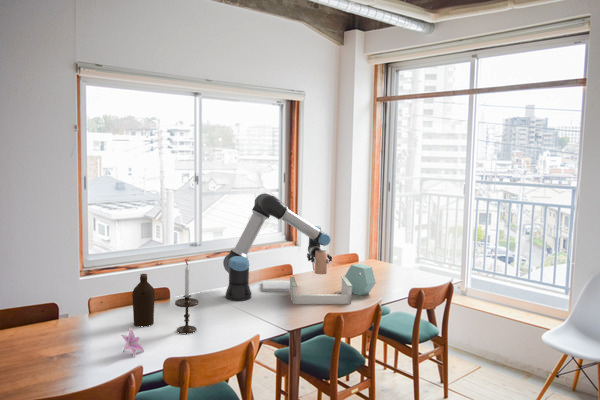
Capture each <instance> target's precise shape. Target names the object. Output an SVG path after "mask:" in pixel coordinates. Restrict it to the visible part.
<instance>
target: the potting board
mask: <svg viewBox="0 0 600 400" xmlns="http://www.w3.org/2000/svg"><path fill="white" fill-rule="evenodd" d="M261 286H262V292H264V293H267V292H268V293H269V292H270V293H271V292H275V293H277V292H278V293H279V292H280V293H283V292H284V293H288V292H289V293H290V280H261Z"/></svg>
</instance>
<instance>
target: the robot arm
mask: <svg viewBox="0 0 600 400" xmlns="http://www.w3.org/2000/svg"><path fill="white" fill-rule="evenodd" d="M254 199H255V200H254V205H253V207H252V209H251V211H252V212H251V213H252V214H251V216H250V218H249V220H248V222H247V224H246V225H245V227H244V230H243V232H242V233H241V235H240V238H239V239H238V240H237V243H236V244H235V247H234V248H231V249H230V251H229V253H228V254H227V255H225V257H224V258H223V262H222V263H223V265H222V266H223V269H224V270H225V271H226V272H227V274H228V286H227V287H226V292H225V298H226V299H227V300H230V301H235V302H238V301H239V302H240V301H247V300H250V299H251V298H252V291H251V287H250V285H249V283H250V282H249V279H250V277H249V275H250V261H249V260H250V259H249V256H248V254H249V252H250V250H251V248H252V246H253V244H254V242H255V240H256V239H257V236H258V234H259V233H260V231H261V229H262V227H263V225H264V222H265V221H266V220H269V219H270V217H273V218H274V219H275V218H276V219H277V220H282V221H283V222H285V223H286V224H287V225H290V226H291V227H293V229H296V230H297V231H299V232H300V233H302V234H304V235H305V236H306V237H308V246H307V254H306V257H307V260H308V262H311V263H313V264H314V265H315V264H316V258H315V254H316V251H317V250H322V249H321V246H323V247H325V246H328V245H329V244H330V242H331V237H330V234H328V233H325V232H324V231H323V230H322V228H321V226H319V225H313V224H312V223H310V222H309V221H308V220H306V219H304V218H303V217H301V216H300V215H298V214H296V213H295V212H293V211H292V210H290V209H289V208H288V205H286V204H285V203H284V202H282V201H281V200H280V199H279V198H278V197H276V196H274V195H271V194H270V193H260V194H258V195H257V197H255V198H254ZM332 261H333V257H332V256H331V255H330V254H329V253H327V265H330V263H331V262H332Z"/></svg>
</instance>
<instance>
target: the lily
mask: <svg viewBox="0 0 600 400" xmlns="http://www.w3.org/2000/svg"><path fill="white" fill-rule="evenodd" d="M120 336H121V337H122V339H123V340H124V341H125V344H124V346H123V351H122V353H124V352H125V351H131V354H132V355H133V357H134V356H135V355H136V356H137V351H139V352H143V351H144V350H145V349H144V347H143V346H142V344H141V343H139V342H140V340H141V337H139V336H136V335H135V333H134V330H133V329H132V327H129V329H128V335H125V334H121V335H120ZM143 353H144V352H143ZM136 356H135V357H136Z"/></svg>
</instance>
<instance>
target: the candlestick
mask: <svg viewBox="0 0 600 400" xmlns="http://www.w3.org/2000/svg"><path fill="white" fill-rule="evenodd" d="M185 264H186V267H185V269H184V271H185V272H184V279H185V280H184V295H182V298H179V299H176V300H175V302H174V303H175V304H174V305H175V306H176V307H178V308H179V307H180V308H185V309H184V310H185V314H184V315H183V318H184V320H183V321H184V322H185V323H184V325H182V326H179V327H177V329H176V333H178V332H179V333H178V334H180V333H186V334H185V335H188V334H187V333H192V334H194V333H196V332H197V327H196V326H195V325H189V322H190V319H189V318H190V317H191V315H190V314H189V308H192V307H195V306H198V305H199V299H197V298H194V297H193V298H192V295H191V294H190V268H189V266H188V265H189V263H188V260H185ZM195 331H196V332H195ZM193 332H194V333H193Z"/></svg>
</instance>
